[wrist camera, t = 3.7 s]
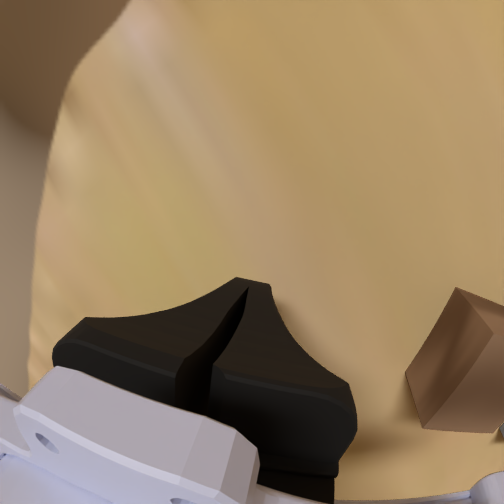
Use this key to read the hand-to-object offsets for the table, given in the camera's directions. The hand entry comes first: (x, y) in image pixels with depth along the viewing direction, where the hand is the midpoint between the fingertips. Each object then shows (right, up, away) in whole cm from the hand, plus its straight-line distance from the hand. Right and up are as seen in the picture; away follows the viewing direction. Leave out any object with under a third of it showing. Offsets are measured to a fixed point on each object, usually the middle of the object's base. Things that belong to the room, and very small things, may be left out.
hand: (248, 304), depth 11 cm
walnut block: (+11, -3, +1) cm, 11 cm away
